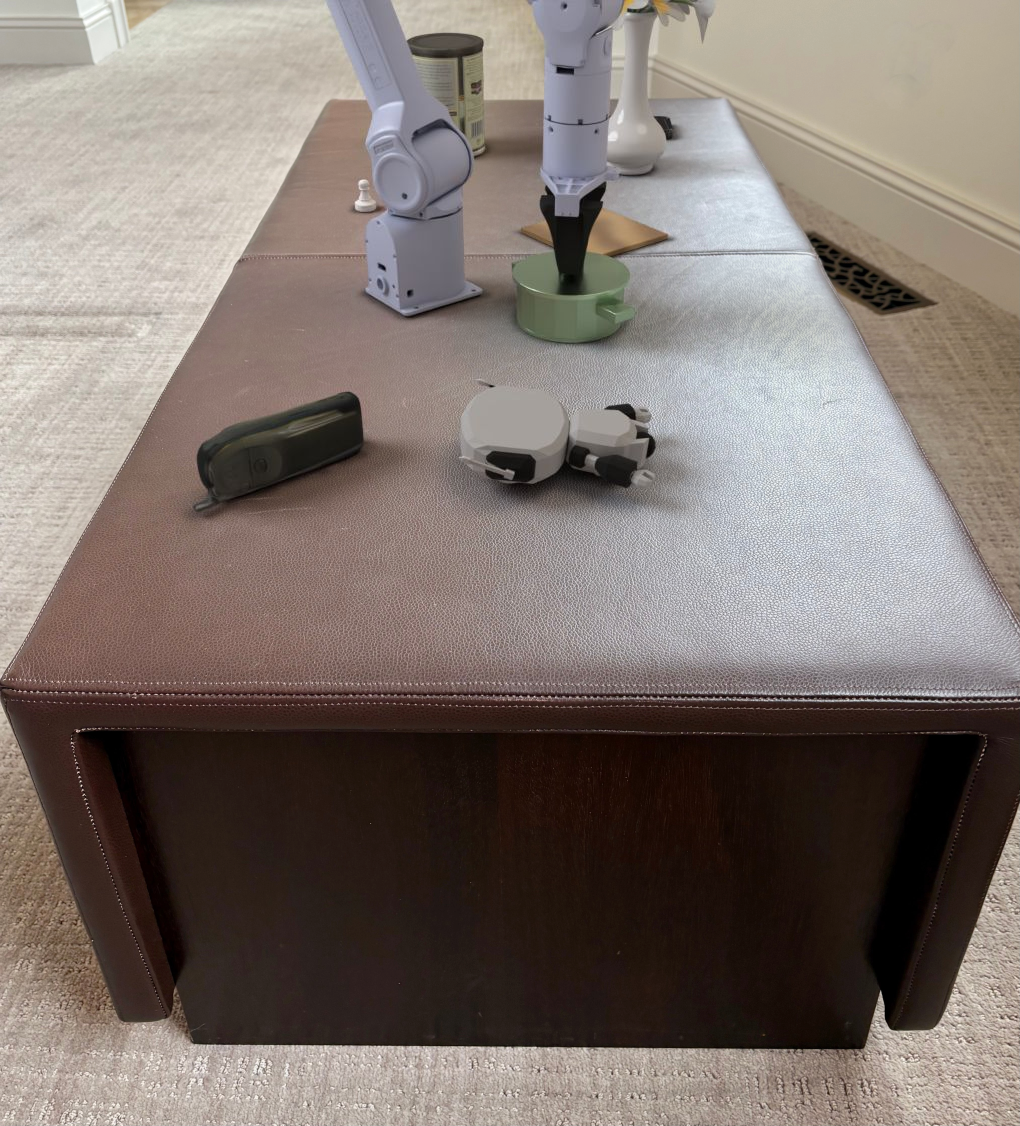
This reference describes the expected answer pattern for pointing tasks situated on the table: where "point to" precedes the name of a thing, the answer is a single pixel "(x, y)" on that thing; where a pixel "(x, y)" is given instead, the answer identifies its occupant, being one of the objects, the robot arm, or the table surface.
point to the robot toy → (552, 438)
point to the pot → (571, 316)
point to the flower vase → (643, 83)
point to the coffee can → (454, 79)
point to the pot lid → (571, 277)
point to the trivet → (606, 234)
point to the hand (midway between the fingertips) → (571, 266)
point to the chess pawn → (364, 198)
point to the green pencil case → (279, 447)
